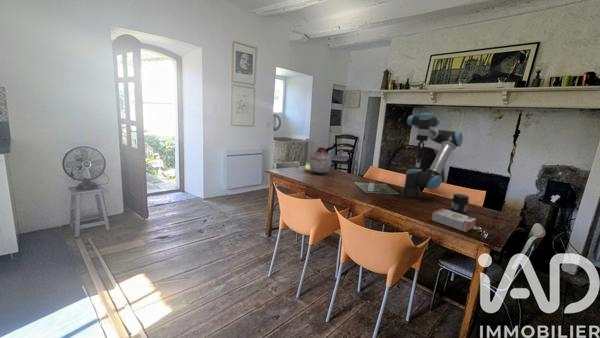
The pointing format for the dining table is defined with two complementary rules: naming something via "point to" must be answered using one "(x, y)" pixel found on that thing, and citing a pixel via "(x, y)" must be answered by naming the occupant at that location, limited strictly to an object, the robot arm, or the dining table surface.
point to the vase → (320, 162)
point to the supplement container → (459, 203)
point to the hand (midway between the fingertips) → (417, 167)
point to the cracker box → (453, 219)
